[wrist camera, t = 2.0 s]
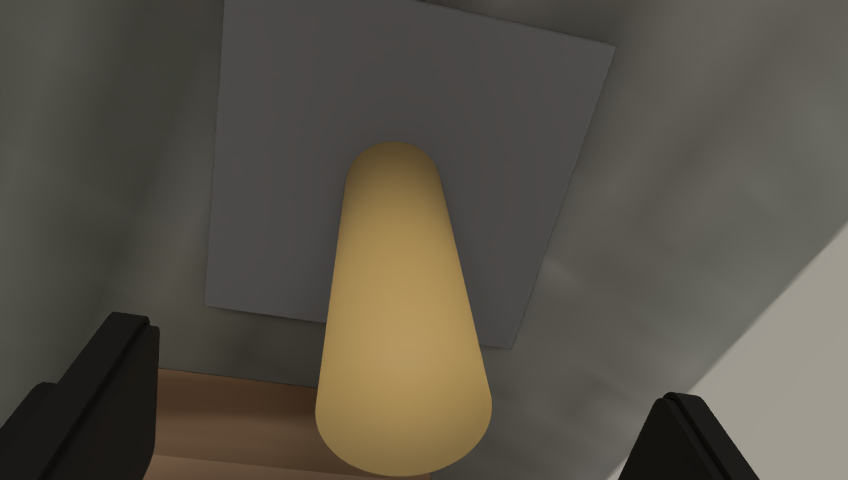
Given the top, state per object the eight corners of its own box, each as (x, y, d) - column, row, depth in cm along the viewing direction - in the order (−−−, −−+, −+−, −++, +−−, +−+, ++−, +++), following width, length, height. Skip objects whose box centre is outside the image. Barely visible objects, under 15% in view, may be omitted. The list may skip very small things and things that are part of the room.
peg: (354, 132, 18) (329, 330, 9) (450, 151, 19) (512, 355, 10) (338, 221, 20) (304, 467, 11) (429, 236, 20) (467, 483, 11)
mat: (232, -43, 16) (227, -41, 16) (609, 43, 18) (616, 47, 18) (208, 296, 21) (204, 305, 21) (508, 339, 23) (511, 349, 22)
